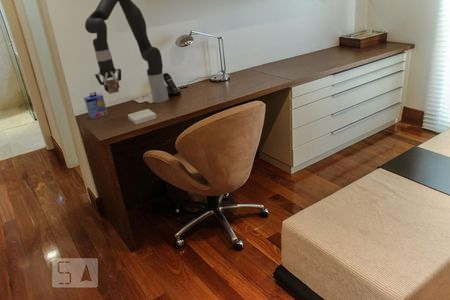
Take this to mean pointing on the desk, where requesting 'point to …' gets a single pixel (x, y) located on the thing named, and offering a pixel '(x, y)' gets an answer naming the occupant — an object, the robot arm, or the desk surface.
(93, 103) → the ink cartridge box
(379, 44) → the desk surface
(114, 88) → the block
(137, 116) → the riser
